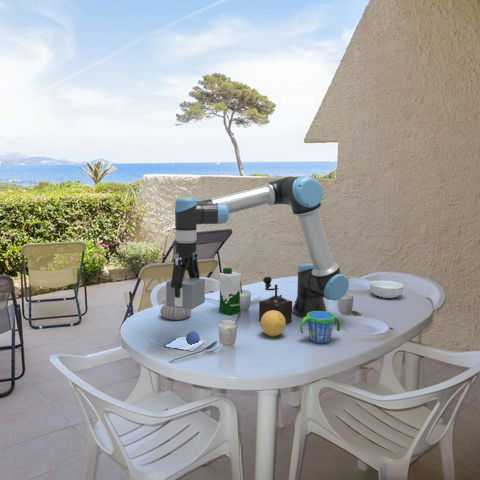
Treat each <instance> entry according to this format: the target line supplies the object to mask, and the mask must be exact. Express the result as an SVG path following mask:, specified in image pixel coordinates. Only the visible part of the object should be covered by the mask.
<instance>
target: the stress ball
mask: <svg viewBox="0 0 480 480" xmlns="http://www.w3.org/2000/svg"><path fill="white" fill-rule="evenodd" d="M285 320H286V319H285V317H284V316H283V315H282V314H281V312H279V311H275V310H271V311H268V312H266V313H265V314H264V315H263V316H262V318H261V322H259V323H260V328H261V330H262V332H264V334H265V335H267V336H269V337H272V338H274V337H277V336H279V335H281V334H282V333H283V332H284V331H285V329H286V327H287V324H286V321H285Z"/></svg>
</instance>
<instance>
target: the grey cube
mask: <svg viewBox="0 0 480 480" xmlns="http://www.w3.org/2000/svg"><path fill="white" fill-rule="evenodd" d="M171 281H172V279H170V280H168V281H166V282H165V283H166V284H165V286H166V289H165V292H166V296H165V297H166V298H165V303H166V306H168V307H176V308H184V309H191V311H192V310H194V309H195V308H198V307H199V306H201V305H203V304H205V301H206V299H205V297H206V296H205V293H206V292H205V286H206V283H205V282H206V279H205V278H200V277H199V278H190V277H189V276H184V278H183V282H182V286H181V288H183V306H182V307H180V306H175V288H172V287H171Z"/></svg>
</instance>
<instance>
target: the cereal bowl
mask: <svg viewBox="0 0 480 480" xmlns="http://www.w3.org/2000/svg"><path fill="white" fill-rule="evenodd" d="M369 289H370V291H371V293H372V294H374V295H375V296H379V297H378V298H380V297H384V298H383V299H385V298H392V299H394V298H396V297H399V296H401V294H402V293H403V292H404V284H402V283H400V282H396V281H393V280H392V281H391V280H373V281H370V283H369ZM393 297H394V298H393Z"/></svg>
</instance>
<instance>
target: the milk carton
mask: <svg viewBox="0 0 480 480" xmlns="http://www.w3.org/2000/svg"><path fill="white" fill-rule="evenodd" d="M242 276H243V274H241V273H239V272H237V271H233V268H232V267H223V269H222V272H219V273H218V279H219V307H218V309H219V311H218V313H222V314H224V315H227V316H232V315H236V314H241V280H242Z"/></svg>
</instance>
